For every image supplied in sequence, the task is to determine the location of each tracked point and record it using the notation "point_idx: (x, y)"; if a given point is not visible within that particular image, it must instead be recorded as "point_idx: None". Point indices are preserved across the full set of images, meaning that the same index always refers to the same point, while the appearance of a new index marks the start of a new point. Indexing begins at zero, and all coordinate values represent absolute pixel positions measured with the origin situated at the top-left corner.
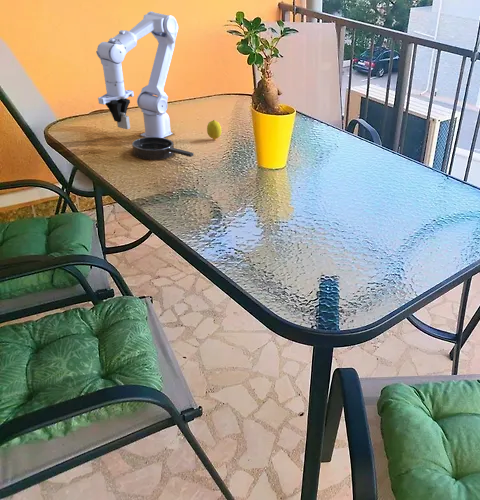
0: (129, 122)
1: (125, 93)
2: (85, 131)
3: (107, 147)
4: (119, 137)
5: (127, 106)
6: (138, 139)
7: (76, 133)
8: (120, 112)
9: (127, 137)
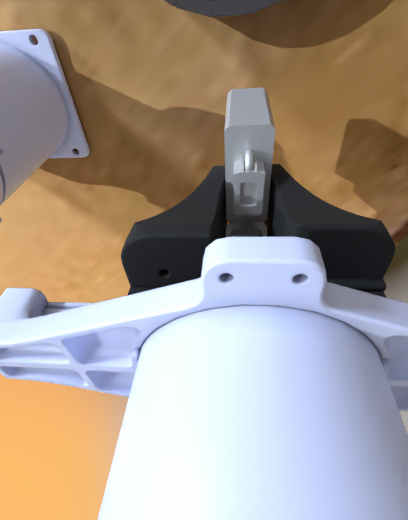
0: (231, 105)
1: (100, 347)
2: None
3: (298, 157)
4: (170, 202)
5: (177, 209)
6: (227, 1)
7: None
8: (244, 210)
9: (146, 181)
